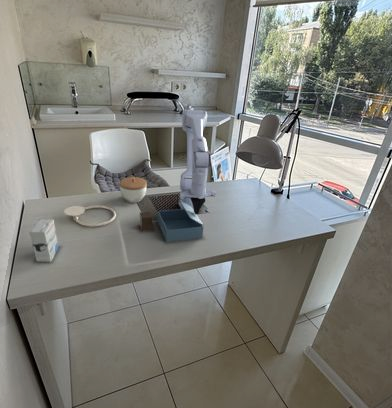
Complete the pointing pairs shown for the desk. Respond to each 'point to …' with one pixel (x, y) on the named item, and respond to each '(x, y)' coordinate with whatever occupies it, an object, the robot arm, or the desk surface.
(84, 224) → the hand towel holder
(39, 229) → the ink box
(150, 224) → the walnut block
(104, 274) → the desk surface
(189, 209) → the flap
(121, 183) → the lidded bowl
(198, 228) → the carton
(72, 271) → the desk surface
